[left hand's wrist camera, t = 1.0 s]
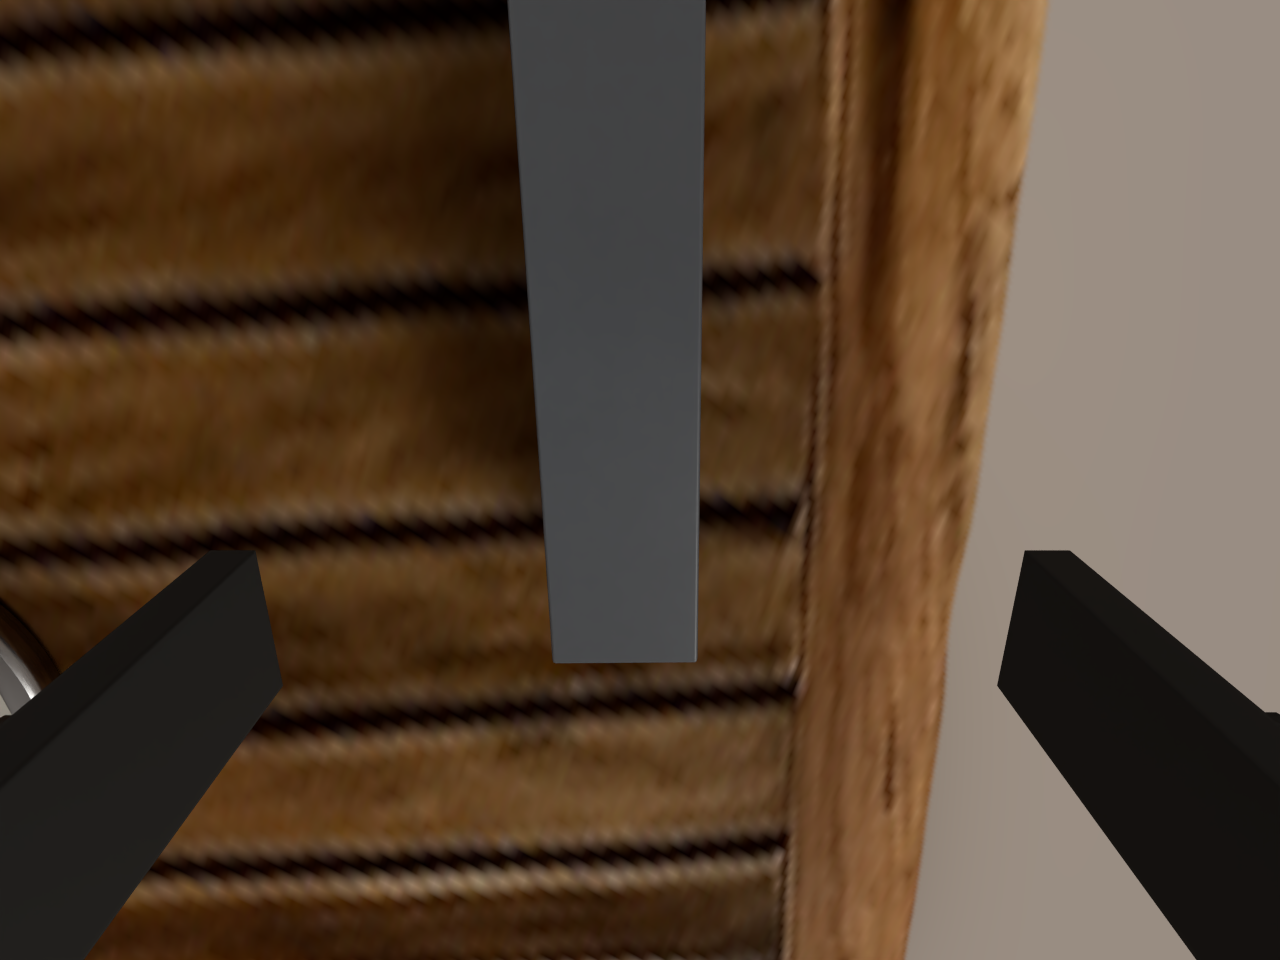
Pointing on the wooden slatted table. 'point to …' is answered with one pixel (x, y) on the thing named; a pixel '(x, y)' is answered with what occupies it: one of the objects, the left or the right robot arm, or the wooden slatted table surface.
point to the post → (615, 313)
